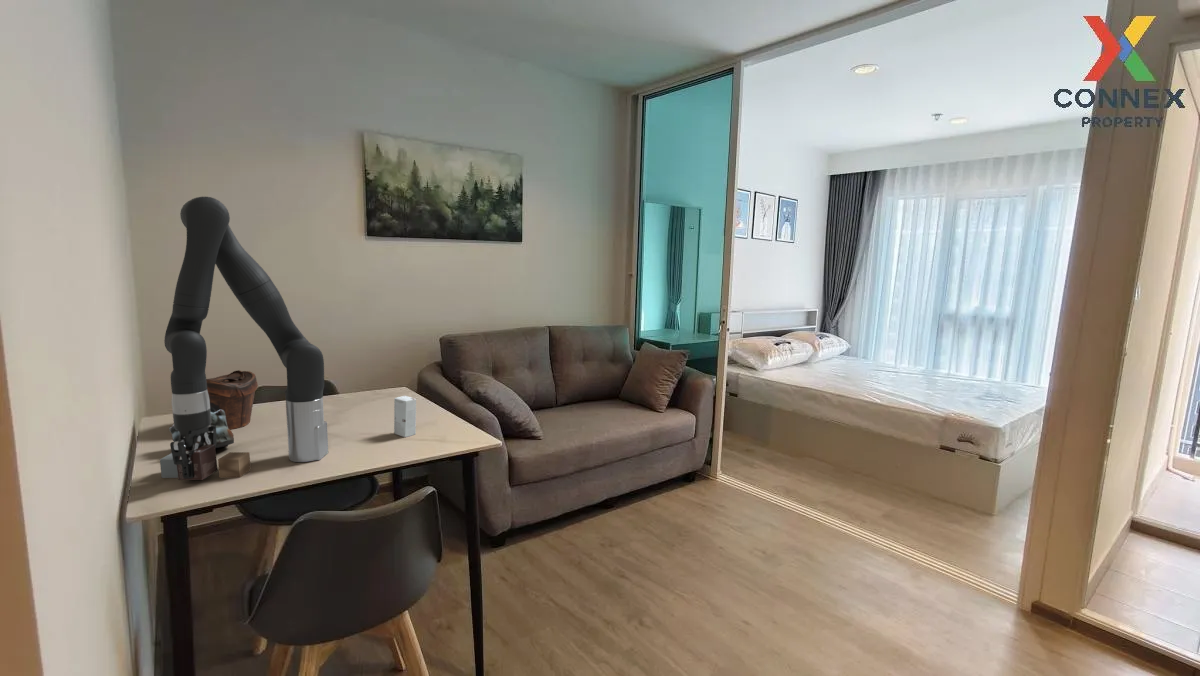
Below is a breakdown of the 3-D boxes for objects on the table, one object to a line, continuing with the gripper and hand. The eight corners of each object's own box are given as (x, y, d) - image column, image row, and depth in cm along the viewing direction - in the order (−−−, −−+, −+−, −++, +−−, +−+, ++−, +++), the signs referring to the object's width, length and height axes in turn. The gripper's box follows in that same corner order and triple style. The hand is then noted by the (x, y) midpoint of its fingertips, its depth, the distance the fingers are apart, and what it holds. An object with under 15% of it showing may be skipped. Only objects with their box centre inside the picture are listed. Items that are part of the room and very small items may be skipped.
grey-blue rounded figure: (166, 463, 146) (153, 415, 148) (187, 465, 157) (175, 420, 159) (227, 443, 151) (214, 396, 153) (244, 445, 162) (231, 402, 164)
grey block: (195, 470, 143) (193, 452, 142) (182, 477, 138) (180, 459, 137) (175, 470, 143) (173, 452, 142) (161, 478, 138) (159, 459, 137)
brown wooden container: (266, 413, 192) (262, 364, 189) (252, 431, 174) (247, 377, 171) (207, 418, 186) (201, 367, 183) (186, 437, 168) (179, 381, 165)
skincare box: (393, 433, 176) (392, 397, 174) (405, 430, 180) (404, 395, 178) (405, 437, 172) (404, 401, 171) (417, 434, 176) (416, 398, 174)
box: (218, 471, 140) (216, 444, 139) (202, 480, 134) (199, 452, 133) (194, 470, 140) (191, 443, 139) (177, 480, 134) (174, 452, 133)
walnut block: (250, 470, 144) (249, 452, 143) (239, 477, 139) (238, 459, 139) (230, 470, 144) (229, 452, 143) (219, 477, 139) (217, 459, 138)
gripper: (188, 417, 127) (195, 484, 130) (224, 400, 142) (230, 461, 144) (154, 417, 127) (161, 484, 129) (194, 400, 141) (200, 461, 144)
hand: (197, 472), depth 137 cm, fingers closed on box, 6 cm apart
